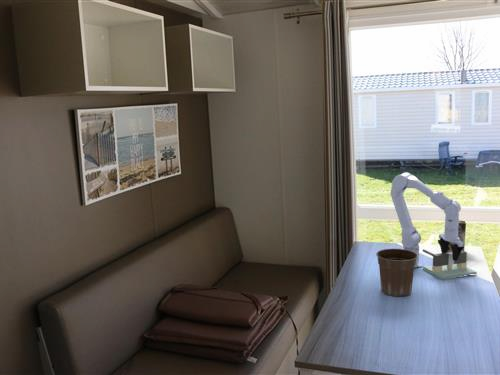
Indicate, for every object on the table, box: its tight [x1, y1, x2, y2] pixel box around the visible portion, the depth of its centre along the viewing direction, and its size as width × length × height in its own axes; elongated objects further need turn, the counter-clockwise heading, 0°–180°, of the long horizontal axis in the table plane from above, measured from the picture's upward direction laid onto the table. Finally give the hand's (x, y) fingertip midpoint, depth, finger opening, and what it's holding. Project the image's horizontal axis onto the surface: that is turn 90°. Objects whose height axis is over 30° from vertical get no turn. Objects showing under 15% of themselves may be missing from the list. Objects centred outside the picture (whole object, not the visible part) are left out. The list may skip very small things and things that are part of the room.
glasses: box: [422, 248, 468, 267], centre depth 238 cm, size 16×10×5 cm, turn 106°
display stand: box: [422, 262, 478, 281], centre depth 235 cm, size 18×14×4 cm
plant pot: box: [375, 248, 418, 297], centre depth 214 cm, size 16×16×16 cm
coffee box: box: [448, 220, 467, 252], centre depth 263 cm, size 9×6×16 cm
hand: (449, 257), depth 235 cm, fingers open, 7 cm apart
